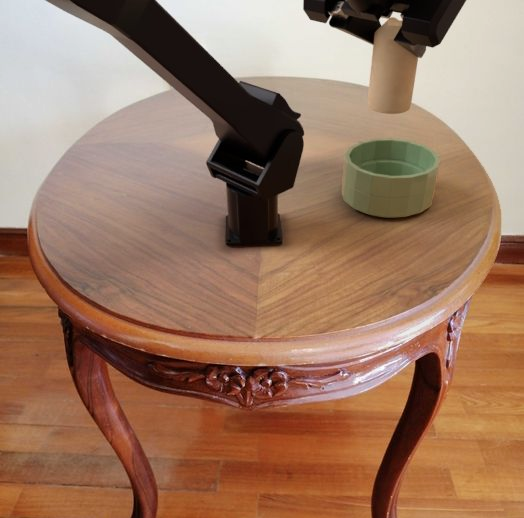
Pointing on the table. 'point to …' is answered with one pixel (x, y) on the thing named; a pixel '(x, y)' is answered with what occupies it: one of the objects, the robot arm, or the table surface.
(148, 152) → the table surface
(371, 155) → the green pet bowl
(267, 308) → the table surface
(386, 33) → the candle
